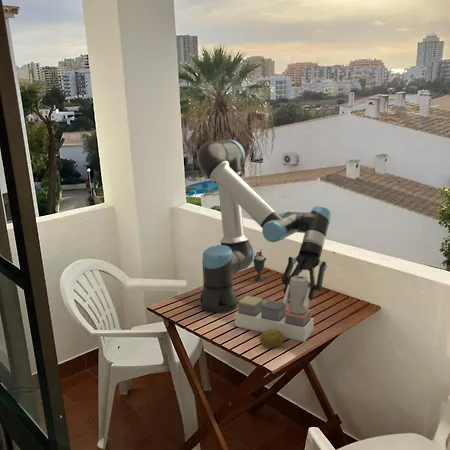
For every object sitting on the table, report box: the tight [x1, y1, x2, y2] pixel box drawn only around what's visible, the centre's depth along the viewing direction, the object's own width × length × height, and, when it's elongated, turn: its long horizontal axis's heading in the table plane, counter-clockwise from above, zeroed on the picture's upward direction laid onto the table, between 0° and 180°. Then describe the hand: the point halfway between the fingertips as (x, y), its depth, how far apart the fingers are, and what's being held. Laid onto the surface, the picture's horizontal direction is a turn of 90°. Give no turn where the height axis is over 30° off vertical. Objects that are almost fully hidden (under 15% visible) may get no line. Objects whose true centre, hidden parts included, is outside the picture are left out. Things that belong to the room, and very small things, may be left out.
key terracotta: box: [285, 308, 311, 327], centre depth 160 cm, size 6×6×6 cm
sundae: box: [253, 248, 267, 282], centre depth 213 cm, size 7×7×15 cm
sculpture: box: [259, 330, 285, 349], centre depth 155 cm, size 8×4×8 cm
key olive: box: [238, 295, 264, 317], centre depth 169 cm, size 6×6×6 cm
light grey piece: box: [234, 309, 315, 343], centre depth 165 cm, size 26×9×5 cm, turn 61°
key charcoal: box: [261, 299, 287, 322], centre depth 164 cm, size 6×6×6 cm
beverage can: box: [288, 275, 310, 314], centre depth 158 cm, size 6×6×12 cm
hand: (294, 305), depth 155 cm, fingers closed on beverage can, 6 cm apart
